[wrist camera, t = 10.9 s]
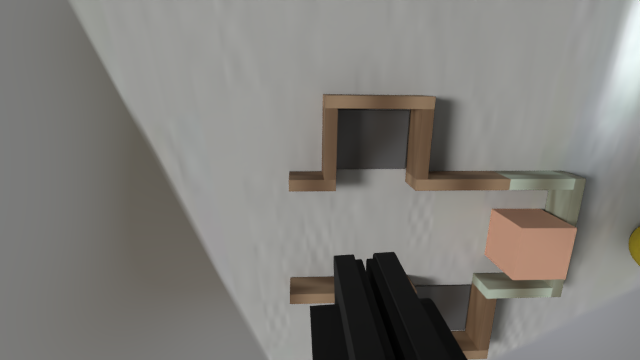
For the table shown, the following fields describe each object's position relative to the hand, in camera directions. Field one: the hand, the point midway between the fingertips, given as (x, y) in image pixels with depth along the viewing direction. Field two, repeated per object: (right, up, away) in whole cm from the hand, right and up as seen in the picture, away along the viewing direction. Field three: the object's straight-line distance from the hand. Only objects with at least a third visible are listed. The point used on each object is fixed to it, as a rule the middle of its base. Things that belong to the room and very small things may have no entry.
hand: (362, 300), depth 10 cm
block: (+18, -2, +26) cm, 32 cm away
